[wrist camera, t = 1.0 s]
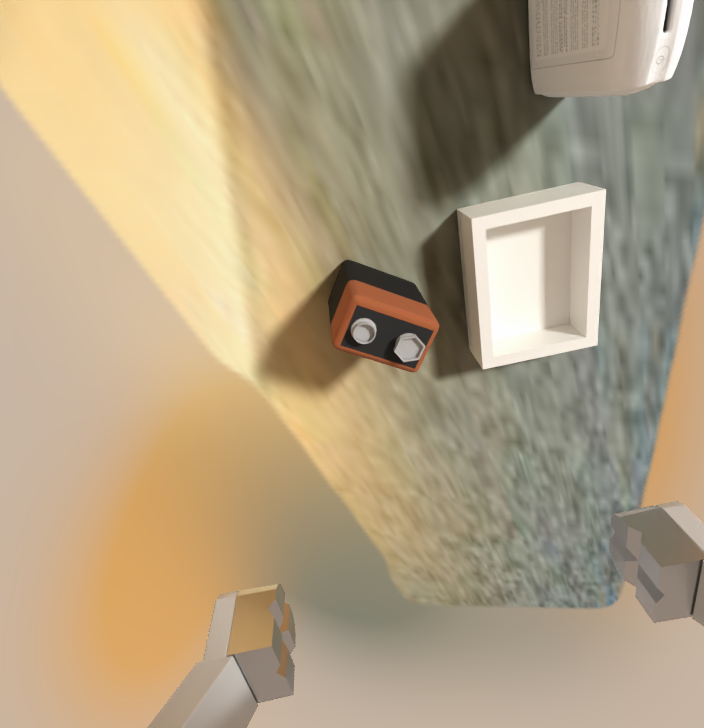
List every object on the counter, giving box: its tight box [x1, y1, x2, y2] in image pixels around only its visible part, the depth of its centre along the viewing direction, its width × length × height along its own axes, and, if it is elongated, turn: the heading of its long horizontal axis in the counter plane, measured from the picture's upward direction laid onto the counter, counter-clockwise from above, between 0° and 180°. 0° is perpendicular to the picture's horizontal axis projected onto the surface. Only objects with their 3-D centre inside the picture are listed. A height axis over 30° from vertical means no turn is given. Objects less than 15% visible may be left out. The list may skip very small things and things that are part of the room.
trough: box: [457, 182, 606, 369], centre depth 40 cm, size 13×10×4 cm
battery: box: [328, 260, 439, 372], centre depth 37 cm, size 4×7×10 cm, turn 69°
